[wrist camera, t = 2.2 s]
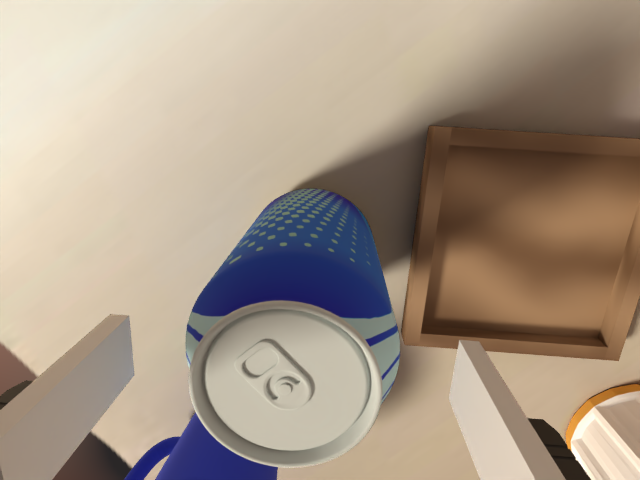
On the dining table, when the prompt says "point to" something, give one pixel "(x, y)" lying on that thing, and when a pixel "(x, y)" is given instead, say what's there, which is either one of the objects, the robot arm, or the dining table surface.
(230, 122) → the dining table surface
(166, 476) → the mug
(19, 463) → the robot arm
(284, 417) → the beer can
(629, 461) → the cup
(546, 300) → the tray
